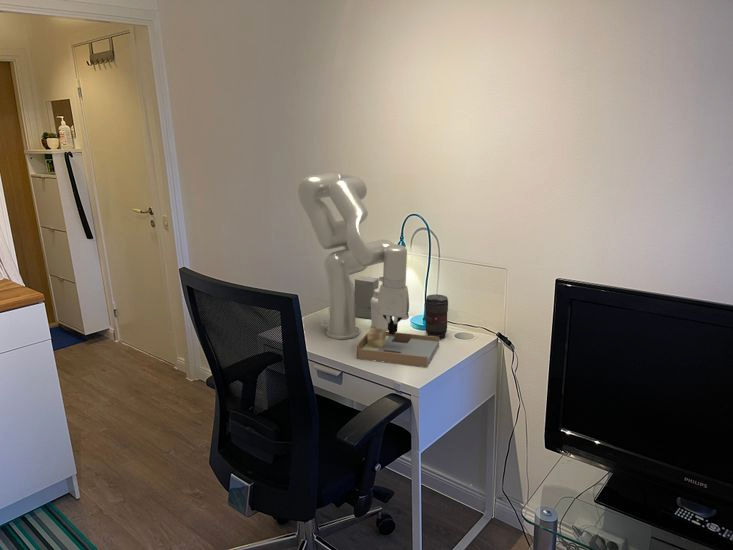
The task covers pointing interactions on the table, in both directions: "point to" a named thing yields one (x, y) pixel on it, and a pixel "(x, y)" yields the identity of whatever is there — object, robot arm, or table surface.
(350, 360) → the table surface
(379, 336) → the block
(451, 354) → the table surface
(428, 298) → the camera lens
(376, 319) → the pill bottle
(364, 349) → the box
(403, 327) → the table surface
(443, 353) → the table surface
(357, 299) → the skincare box
